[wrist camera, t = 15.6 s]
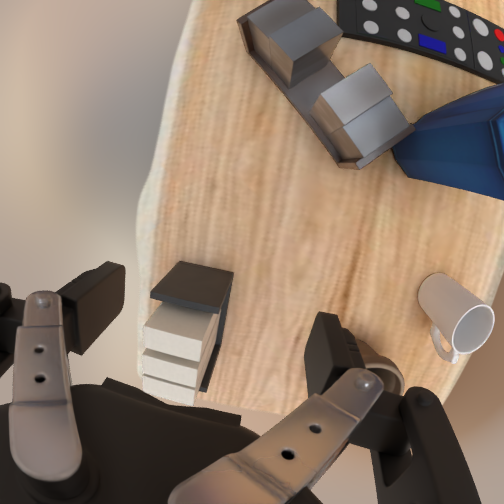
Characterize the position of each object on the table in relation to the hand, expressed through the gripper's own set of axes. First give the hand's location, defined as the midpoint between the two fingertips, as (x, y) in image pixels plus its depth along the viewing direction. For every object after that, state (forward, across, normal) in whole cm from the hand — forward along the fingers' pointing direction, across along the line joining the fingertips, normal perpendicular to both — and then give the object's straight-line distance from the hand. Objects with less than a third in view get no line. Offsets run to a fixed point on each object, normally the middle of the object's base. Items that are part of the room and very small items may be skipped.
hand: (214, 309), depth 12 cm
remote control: (+29, -20, -32) cm, 48 cm away
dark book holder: (+28, +5, +16) cm, 32 cm away
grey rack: (+28, -4, -16) cm, 33 cm away
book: (+28, -23, -17) cm, 40 cm away
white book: (+27, +5, +13) cm, 30 cm away
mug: (+28, -29, +8) cm, 41 cm away
